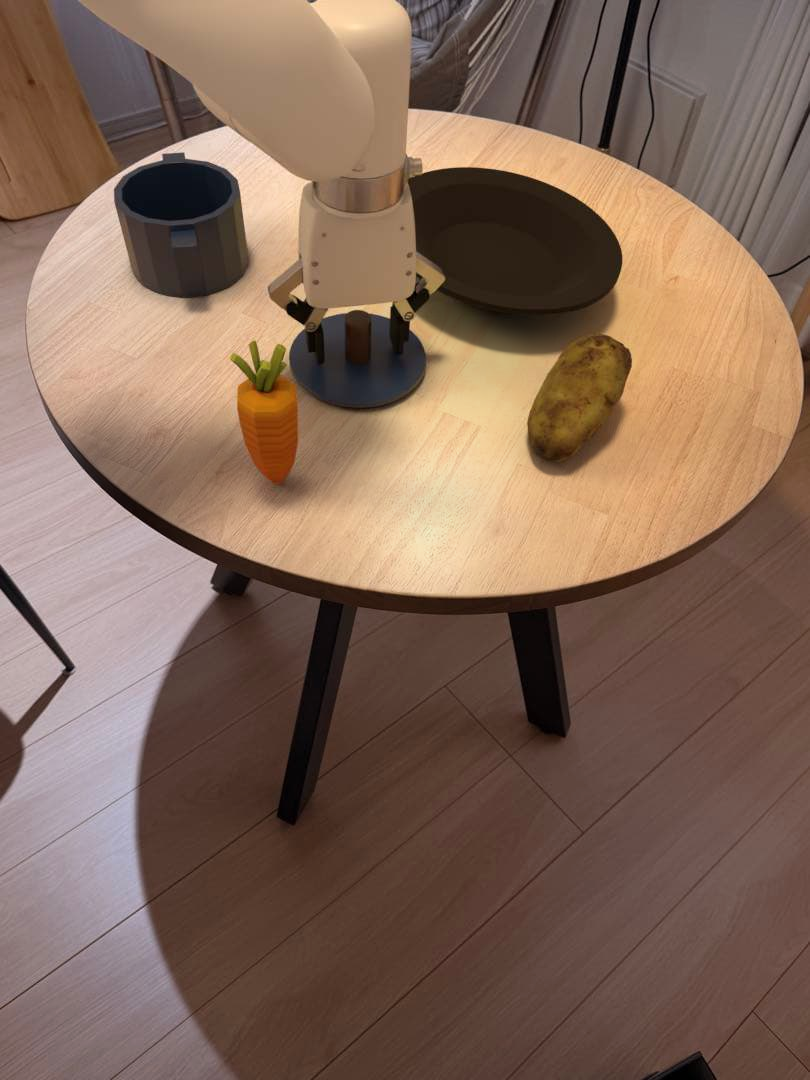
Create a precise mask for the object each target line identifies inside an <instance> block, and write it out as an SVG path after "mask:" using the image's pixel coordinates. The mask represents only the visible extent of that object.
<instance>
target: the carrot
mask: <svg viewBox="0 0 810 1080" xmlns="http://www.w3.org/2000/svg"><path fill="white" fill-rule="evenodd" d="M248 348H249V352H250V356H251V360H252V365H253V369H254V371H255V372H254V371H253V369H252V367H251V366H250V365H249V364H248V362H247V361H246V360H245V359H244V358H243V357H242V356H240V355H239V354H237V353H235V352H233V353H231V355H230V357H229V360H230V361H231V362H232V363H233V364H234V365H236V366H237V367H238V369H240V371H241V372H242V373H243V374H244V375H245V376H246V377H247V379H246V380H244V381H243V382H241V383H239V384H238V385H237V386H238V387H237V397H236V398H237V399H236V411H237V416H238V421H239V424H240V429H241V430H240V431H241V433H242V437H243V438H242V439H243V443H244V445H245V447H246V449H247V452H248V454H249V456H250V459H251V460H252V462H253V465H254V466H255V467H256V469H257V470H258V471H259V472H260V474H261V475H262V476H264V477H265V479H267V480H268V481H269V482H270V483H272V484H273V485H280V484H282V483H283V482H284V481H285V480H286V478H287V477H288V476H289V474H290V473H291V471H292V469H293V467H294V465H295V461H296V457H297V451H298V445H299V413H298V412H299V411H298V409H299V408H298V390H297V389H298V388H297V386H296V384H295V382H293V381H291V380H290V379H288V378H287V377H284V376H283V375H281V374H282V373H283V371H284V370H285V369H286V367H287V366H288V363H287V362H285V361H283V360H284V358H285V355H286V351H287V348H286V347H285V346H284V345H283V344H281V343H277V344H276V345H275V347H274V350H273V352H272V355H271V358H270V361H268V360H261V357H260V351H259V347H258V343H257V341H256V340H252V341H250V343H249V344H248Z"/></svg>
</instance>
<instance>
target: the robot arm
mask: <svg viewBox="0 0 810 1080" xmlns="http://www.w3.org/2000/svg"><path fill="white" fill-rule="evenodd" d="M77 1H78V3H80V4H81V5H82V6H83V7H84V8H86V9H87V10H88V11H90V12H92V13H93V14H94V15H95V16H96V17H97V18H99V19H100V20H101V21H103V22H104V23H105V24H107V25H108V26H109V27H111V28H113V29H114V30H115V31H117V32H119V33H120V34H121V35H123V36H125V37H126V38H128V39H129V40H131V42H134V43H135V44H137V45H139V46H140V47H142V48H143V49H145V50H146V51H147V52H149V53H151V54H152V55H153V56H155V58H158V59H159V60H161V61H162V62H163V63H165V64H166V65H167V66H169V67H170V68H171V69H172V70H174V71H175V72H176V73H178V74H179V75H180V76H182V77H183V78H184V79H186V80H187V81H188V82H189V83H191V85H192V87H193V89H194V91H195V93H196V95H197V97H198V99H199V100H200V102H201V103H202V104H203V105H204V107H205V108H206V110H208V112H210V113H211V114H212V115H213V116H214V117H216V119H218V120H219V121H220V122H222V123H223V124H224V125H226V126H227V127H228V128H230V129H231V130H233V131H234V132H235V133H236V134H238V135H239V136H241V137H242V138H243V139H245V140H246V141H248V142H249V143H251V144H253V146H255V147H256V148H257V149H258V150H260V151H262V152H263V153H264V154H266V155H267V156H268V157H269V158H271V159H272V160H273V161H274V162H276V163H277V164H278V165H280V166H281V167H282V168H283V169H285V170H286V171H287V172H288V173H290V174H292V175H293V176H295V177H297V178H300V179H302V180H305V181H308V182H307V183H306V184H305V185H304V187H303V188H302V190H301V191H302V192H301V199H300V202H299V203H300V204H299V212H298V233H297V234H298V236H297V238H298V240H297V241H298V242H297V247H298V248H297V249H298V250H297V251H298V255H297V256H298V259H297V260H296V262H294V263H293V264H292V265H290V267H288V268H287V269H286V270H285V271H283V273H281V274H280V275H279V276H278V277H277V278H275V279H274V280H273V281H272V282H270V283H269V285H268V286H267V291H268V295H269V299H270V300H271V301H273V303H275V304H276V305H277V306H278V307H279V308H280V309H282V310H284V311H285V312H286V314H287V315H288V316H289V317H290V318H292V320H295V321H296V322H297V323H299V324H301V325H302V326H303V327H304V329H305V330H306V344H307V349H308V353H311V352H314V353H315V357H316V361H317V365H320V364H323V363H325V355H324V333H323V328H322V325H321V321H322V319H323V318H325V316H326V314H327V312H328V311H329V309H339V308H350V307H361V306H368V305H369V306H370V305H377V304H387V303H392V304H391V306H390V308H389V310H390V311H389V319H390V331H389V336H390V340H391V343H392V346H393V349H394V352H395V354H397V355H403V348H404V342H408V341H409V329H410V328H411V327H410V325H411V321H413V320H414V319H415V317H416V313H417V312H418V310H420V309H421V308H422V307H423V306H424V305H425V304H426V303H428V301H429V300H430V298H431V295H432V294H434V293H435V292H436V291H437V289H438V288H439V287H440V285H441V284H442V283H443V282H444V281H445V276H444V274H443V271H442V269H441V268H440V267H438V266H437V265H436V264H434V263H433V262H431V261H430V260H428V259H427V258H425V257H424V256H422V255H421V254H419V253H418V252H417V251H416V238H415V220H414V211H413V204H412V197H411V192H410V188H409V185H408V181H409V178H413V177H414V176H421V175H422V173H423V169H424V167H423V160H422V158H421V157H416V158H415V157H414V158H413V156H408V154H407V143H408V142H407V140H408V139H407V137H408V122H409V104H410V103H409V102H410V101H409V100H410V82H411V64H412V63H411V62H412V44H413V43H412V40H413V39H412V38H413V37H412V36H413V35H412V33H413V32H412V30H413V29H412V22H411V18H410V16H409V14H408V12H407V10H406V8H405V7H403V5H401V4H400V2H398V1H397V0H315V1H314V2H309V1H308V0H77ZM416 273H418V274H419V275H421V276H422V277H423V278H422V279H421V280H420V281H418V282H417V277H416ZM301 284H302V285H303V291H304V294H305V298H304V300H301V299H300V298H299V297H297V296H296V295H294V294H291V293H292V292H293V291H294V290H295V289H296V288H297V287H299V286H300V285H301Z"/></svg>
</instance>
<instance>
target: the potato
mask: <svg viewBox="0 0 810 1080" xmlns="http://www.w3.org/2000/svg"><path fill="white" fill-rule="evenodd" d="M632 368H633V358H632V353H631V351H630V348H628V347H626V346H625V344H624V343H622V342H620V341H619V340H617V339H615V338H613V337H612V336H610V335H607V334H598V333H588V334H585V335H582V336H581V337H579V338H576V339H575V340H574V341H572V342H571V343H569V345H568V346H567V347H566V348H565V349H564V350H563V351H562V352H561V353H560V355H559V356H558V357H557V360H556V361H555V362H554V364H553V365H552V367H551V369H550V370H549V371H548V372H547V374H546V376H545V379H544V380H543V382H542V384H541V386H540V387H539V390H538V392H537V394H536V396H535V398H534V400H533V403H532V405H531V407H530V410H529V413H528V417H527V424H526V427H527V434H528V439H529V443H530V447H531V449H532V451H533V454H534V455H536V456H537V457H539V458H540V459H542V460H543V461H545V462H548V463H560V462H563V461H565V460H568V459H571V458H572V457H573V456H575V455H576V454H577V453H578V452H580V449H581V447H582V446H583V444H584V443H586V442H587V441H588V440H589V439H591V438H592V437H594V436H595V434H596V433H597V431H598V430H599V429H600V428H602V426H603V423H604V422H605V421H606V419H607V418H608V416H609V415H610V414H611V413H612V412H613V410H614V409H615V407H616V405H617V404H618V403H619V401H620V399H621V398H622V396H623V395H624V391H625V387H626V383H627V380H628V378H629V375H630V373H631V370H632Z"/></svg>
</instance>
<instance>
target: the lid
mask: <svg viewBox="0 0 810 1080" xmlns="http://www.w3.org/2000/svg"><path fill="white" fill-rule="evenodd" d="M321 325H322V328H323V333H324V355H325V363H323V364H320V365H317V361H316V357H315V353H314V352H311V353H308V349H307V344H306V330H305V328H303V329H302V330H301V331H300V332H299V333H298V334H297V335H296V336H295V338H294V340H293V341H292V343H291V345H290V348H289V353H288V361H289V368H290V369H289V370H290V371H291V374H292V376H293V378H294V380H295V381H296V382H297V384H298V385H299V386H300V387H301V388H302V389H303V390H304V391H305V392H307V393H308V394H309V395H311V396H312V397H315V398H316V399H318V400H320V401H323V402H325V403H328V404H332V405H335V406H340V407H344V408H345V407H346V408H358V409H359V408H372V407H380V406H383V405H386V404H389V403H392V402H395V401H398V400H399V399H401V398H403V397H405V396H406V395H408V394H409V393H411V392H412V391H413V390H414V389H415V388H416V387H417V386H418V384H419V383H420V382H421V380H422V378H423V377H424V374H425V372H426V364H427V356H426V355H427V354H426V351H425V347H424V345H423V343H422V341H421V340H420V339H419V337H418V336H417V335H416V334H415V333H414V331H412V330H411V329H410V328H409V341H408V342H404V348H403V355H397V354H395V352H394V349H393V346H392V343H391V340H390V336H389V331H390V317H387V316H383V315H379V314H374V313H369V312H368V311H366V310H361V309H353V310H350V311H348V312H344V313H338V314H332V315H329V316H326V317H323V319H322V321H321Z"/></svg>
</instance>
